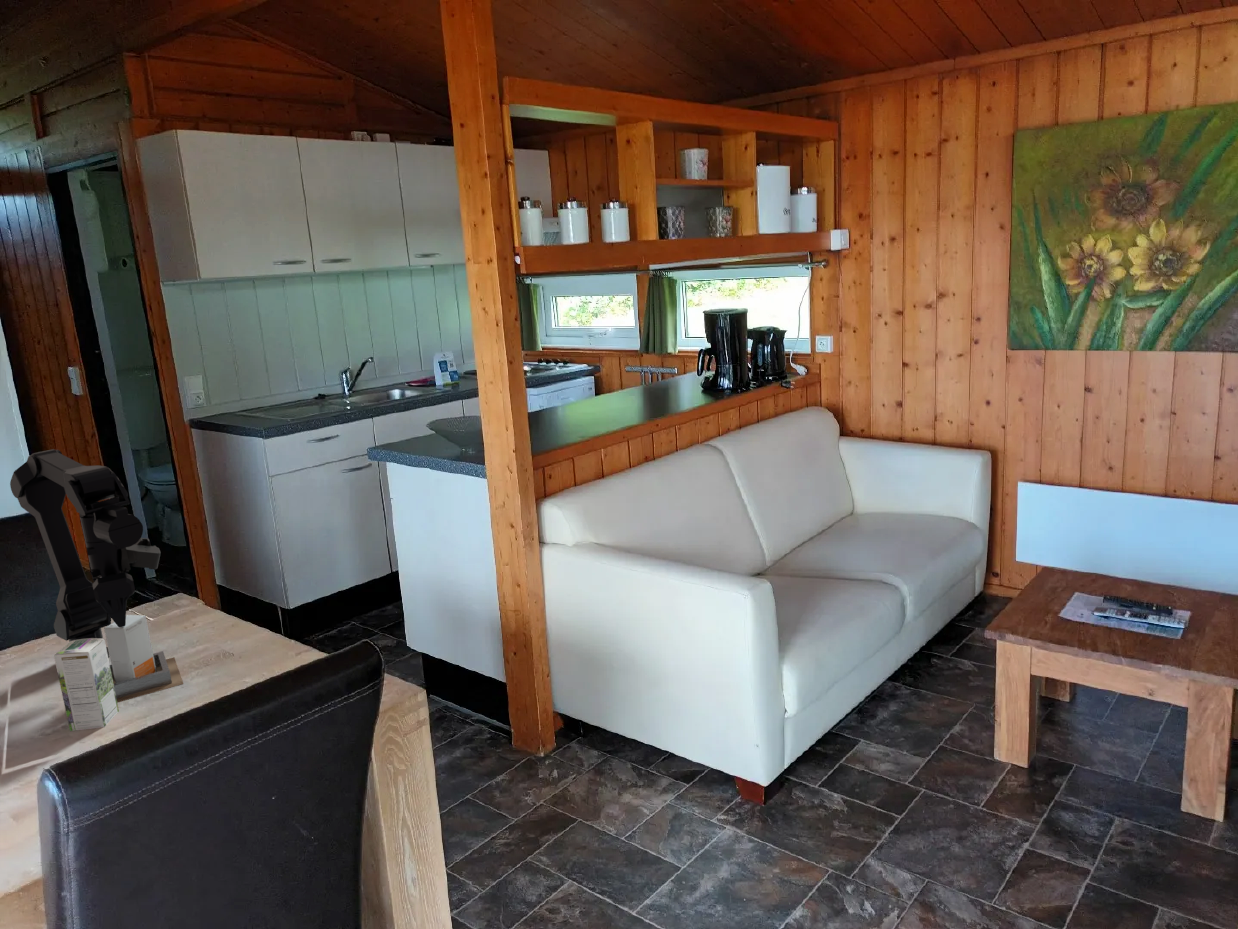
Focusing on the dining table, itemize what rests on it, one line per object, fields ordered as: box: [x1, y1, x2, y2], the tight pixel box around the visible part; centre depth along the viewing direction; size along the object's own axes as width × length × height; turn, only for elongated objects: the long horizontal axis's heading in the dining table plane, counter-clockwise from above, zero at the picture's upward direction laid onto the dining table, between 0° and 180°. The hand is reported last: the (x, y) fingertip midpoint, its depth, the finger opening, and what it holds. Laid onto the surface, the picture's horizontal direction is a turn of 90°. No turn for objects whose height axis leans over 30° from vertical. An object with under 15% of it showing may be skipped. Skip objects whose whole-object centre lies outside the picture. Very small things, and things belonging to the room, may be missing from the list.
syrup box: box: [53, 637, 120, 732], centre depth 155 cm, size 6×6×14 cm
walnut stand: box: [113, 657, 184, 703], centre depth 170 cm, size 14×14×1 cm
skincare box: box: [103, 614, 157, 683], centre depth 169 cm, size 6×4×12 cm
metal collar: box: [110, 650, 172, 699], centre depth 170 cm, size 10×10×2 cm
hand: (120, 618), depth 169 cm, fingers open, 9 cm apart
